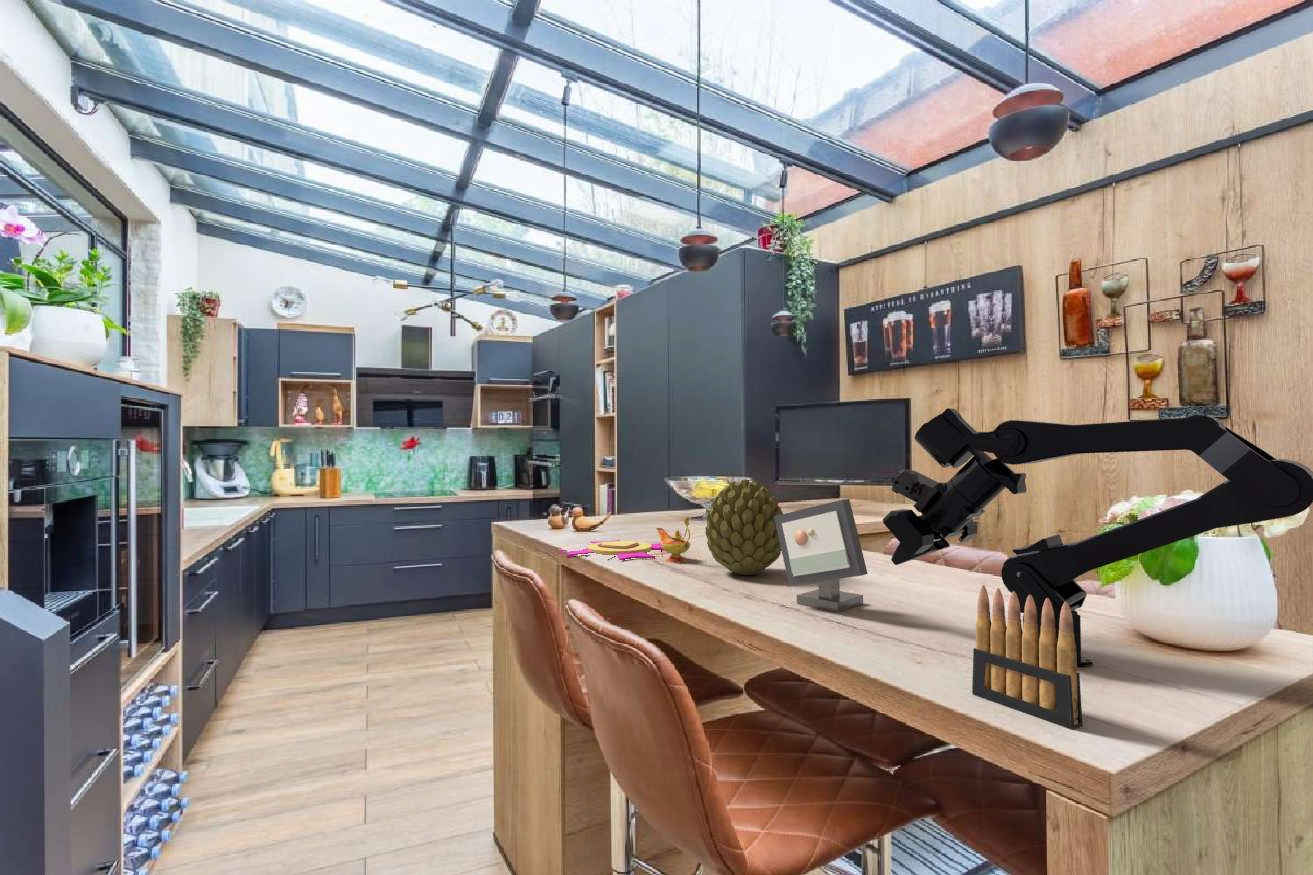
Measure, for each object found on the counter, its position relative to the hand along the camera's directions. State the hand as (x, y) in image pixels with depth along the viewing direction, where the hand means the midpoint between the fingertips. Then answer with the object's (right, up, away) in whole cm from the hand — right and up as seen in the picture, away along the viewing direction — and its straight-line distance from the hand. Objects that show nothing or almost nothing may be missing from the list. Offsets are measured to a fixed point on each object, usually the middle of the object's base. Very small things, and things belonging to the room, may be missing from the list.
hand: (894, 562), depth 100 cm
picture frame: (-8, -5, +9) cm, 13 cm away
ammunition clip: (+2, -10, -31) cm, 33 cm away
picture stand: (-6, -10, +14) cm, 18 cm away
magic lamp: (-32, -11, +60) cm, 69 cm away
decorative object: (-17, -10, +41) cm, 46 cm away
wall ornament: (-45, -11, +74) cm, 87 cm away
